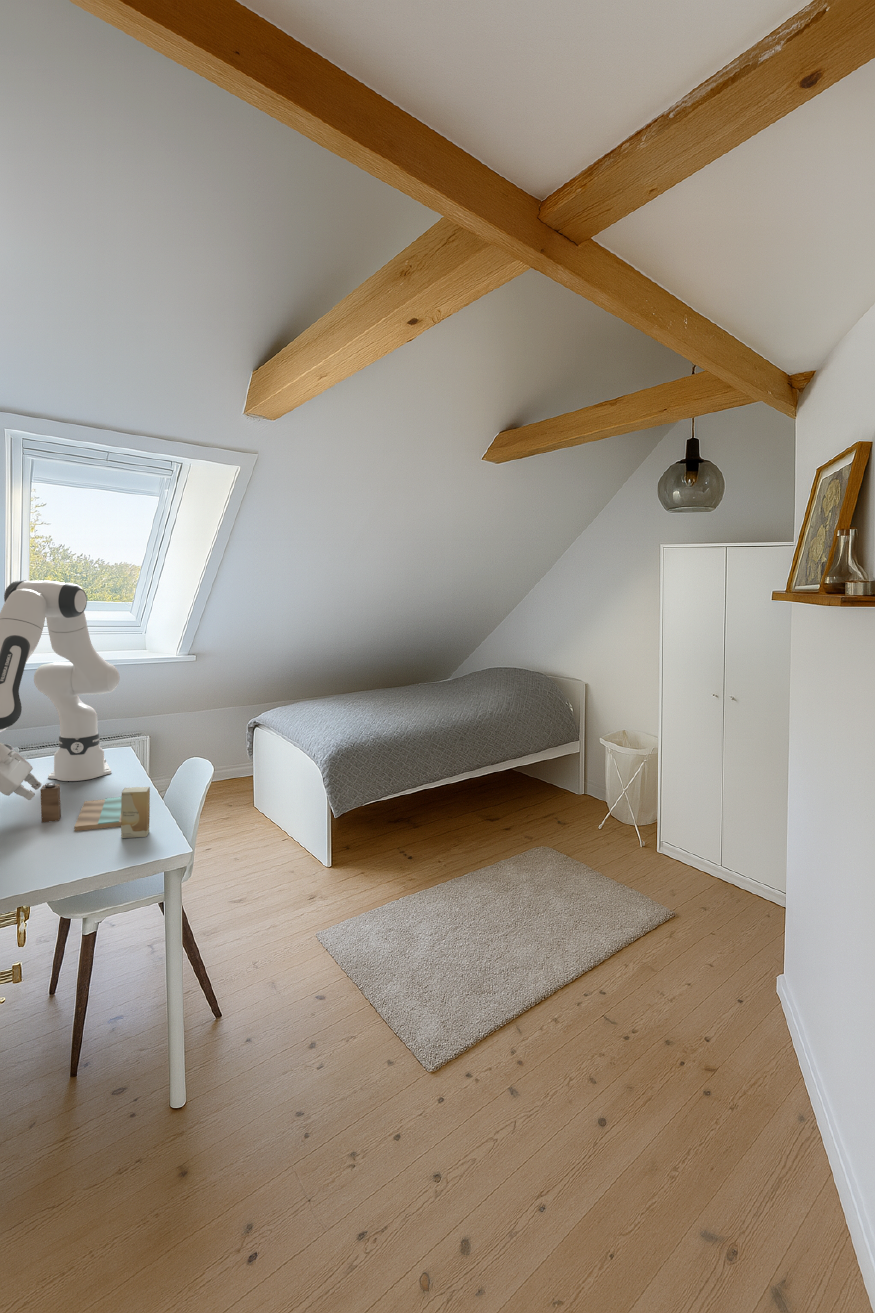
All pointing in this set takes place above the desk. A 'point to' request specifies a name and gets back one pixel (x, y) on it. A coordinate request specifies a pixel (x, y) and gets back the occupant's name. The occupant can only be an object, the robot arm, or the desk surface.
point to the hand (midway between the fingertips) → (36, 792)
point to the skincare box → (135, 812)
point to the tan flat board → (99, 814)
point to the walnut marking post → (50, 802)
